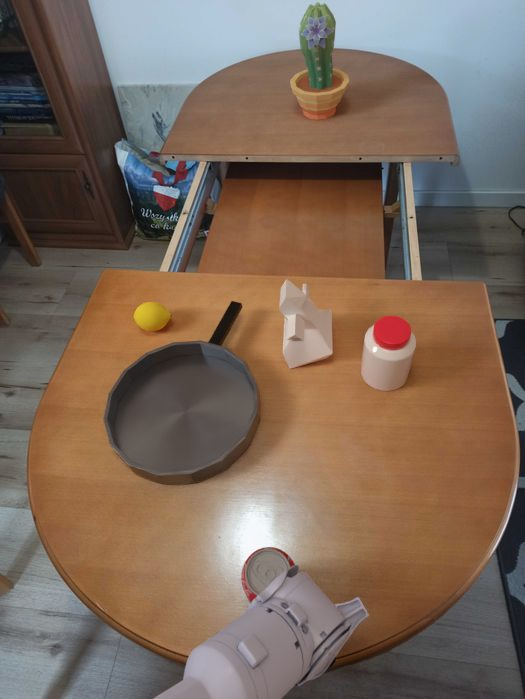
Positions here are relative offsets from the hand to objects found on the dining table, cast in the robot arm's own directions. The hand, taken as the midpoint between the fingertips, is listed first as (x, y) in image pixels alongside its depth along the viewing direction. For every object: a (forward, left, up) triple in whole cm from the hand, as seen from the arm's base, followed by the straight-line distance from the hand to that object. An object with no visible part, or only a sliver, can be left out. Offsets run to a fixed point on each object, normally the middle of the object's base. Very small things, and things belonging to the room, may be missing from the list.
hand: (304, 653), depth 57 cm
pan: (+30, +29, -3) cm, 42 cm away
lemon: (+40, +43, -3) cm, 59 cm away
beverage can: (+5, +6, -3) cm, 8 cm away
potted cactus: (+121, +37, -3) cm, 126 cm away
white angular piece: (+45, +15, -3) cm, 47 cm away
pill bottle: (+43, +1, -3) cm, 43 cm away
